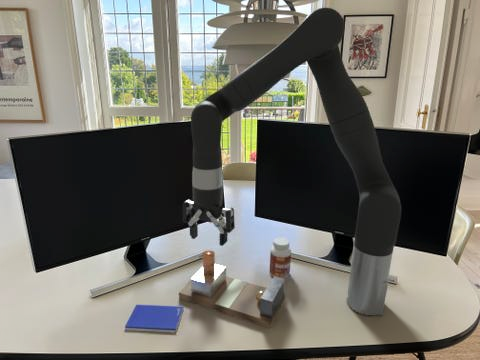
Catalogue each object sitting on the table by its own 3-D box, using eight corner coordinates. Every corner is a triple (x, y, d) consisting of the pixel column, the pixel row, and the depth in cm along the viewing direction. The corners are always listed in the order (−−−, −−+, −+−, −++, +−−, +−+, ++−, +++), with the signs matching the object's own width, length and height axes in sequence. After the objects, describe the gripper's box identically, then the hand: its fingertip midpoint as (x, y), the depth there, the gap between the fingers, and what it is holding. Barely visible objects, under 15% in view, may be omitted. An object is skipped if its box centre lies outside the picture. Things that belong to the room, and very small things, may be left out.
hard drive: (183, 305, 88) (136, 303, 89) (176, 328, 80) (124, 326, 81) (183, 310, 88) (137, 308, 89) (176, 334, 81) (125, 331, 81)
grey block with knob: (283, 295, 91) (284, 279, 89) (271, 318, 82) (272, 301, 81) (262, 289, 93) (263, 273, 92) (248, 311, 85) (249, 294, 83)
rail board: (284, 299, 92) (285, 292, 92) (269, 328, 82) (270, 321, 81) (201, 275, 102) (201, 269, 102) (179, 298, 92) (178, 292, 91)
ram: (226, 279, 97) (226, 248, 94) (210, 297, 89) (210, 264, 86) (207, 273, 99) (207, 243, 96) (191, 291, 91) (190, 258, 88)
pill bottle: (273, 281, 100) (275, 247, 97) (266, 269, 106) (267, 237, 102) (293, 277, 102) (295, 244, 98) (284, 266, 108) (286, 235, 104)
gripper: (239, 183, 85) (238, 240, 91) (191, 175, 91) (192, 229, 96) (226, 192, 79) (225, 253, 84) (175, 183, 84) (177, 241, 90)
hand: (208, 240), depth 90 cm, fingers open, 8 cm apart
